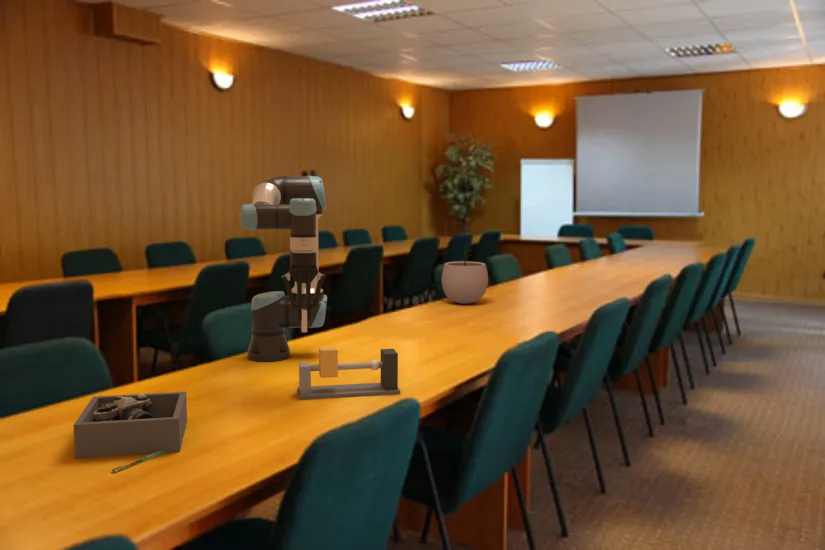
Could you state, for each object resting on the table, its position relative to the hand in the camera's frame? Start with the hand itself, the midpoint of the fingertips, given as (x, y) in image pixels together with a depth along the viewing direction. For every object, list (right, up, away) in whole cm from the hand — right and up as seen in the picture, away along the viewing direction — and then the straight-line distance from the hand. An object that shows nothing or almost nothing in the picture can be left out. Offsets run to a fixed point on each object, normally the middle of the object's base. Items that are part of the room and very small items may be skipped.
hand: (304, 331), depth 221 cm
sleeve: (+7, -13, +4) cm, 15 cm away
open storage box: (-37, -24, -36) cm, 56 cm away
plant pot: (+59, +2, +168) cm, 178 cm away
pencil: (-29, -26, -49) cm, 63 cm away
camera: (-38, -24, -34) cm, 57 cm away
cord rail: (+13, -19, +6) cm, 23 cm away
